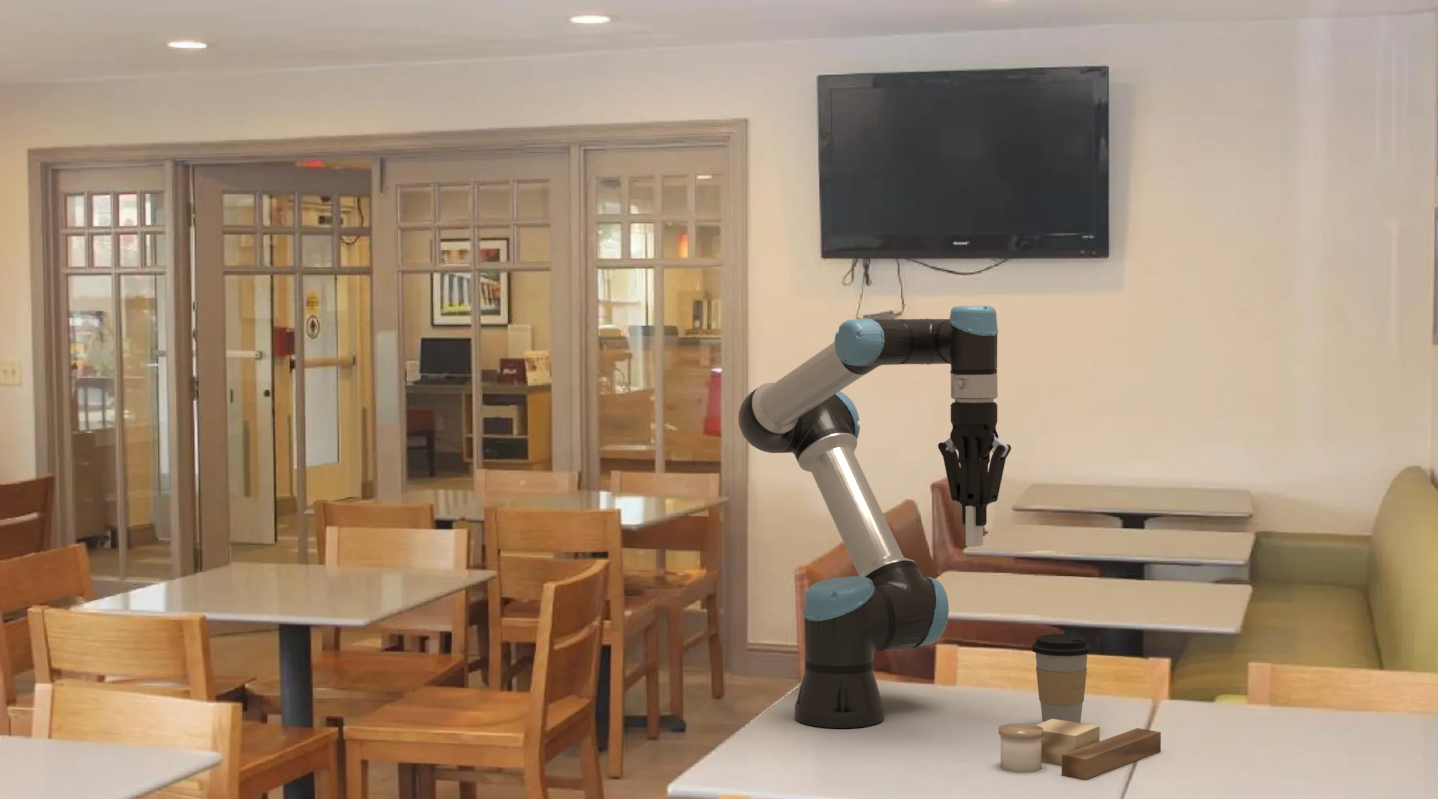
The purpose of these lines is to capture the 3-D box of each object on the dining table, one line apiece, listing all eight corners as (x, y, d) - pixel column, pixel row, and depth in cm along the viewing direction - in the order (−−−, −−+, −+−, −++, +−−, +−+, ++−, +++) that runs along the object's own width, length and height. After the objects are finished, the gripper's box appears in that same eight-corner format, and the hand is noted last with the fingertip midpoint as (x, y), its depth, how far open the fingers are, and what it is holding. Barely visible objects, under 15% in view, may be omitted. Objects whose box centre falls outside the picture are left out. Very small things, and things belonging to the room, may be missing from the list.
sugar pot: (989, 767, 242) (989, 729, 241) (1014, 759, 246) (1014, 721, 246) (1027, 775, 237) (1027, 736, 237) (1052, 766, 242) (1052, 728, 242)
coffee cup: (1091, 737, 259) (1091, 644, 258) (1031, 735, 261) (1031, 642, 260) (1089, 724, 268) (1089, 634, 268) (1031, 721, 270) (1031, 632, 270)
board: (1061, 775, 237) (1061, 754, 237) (1137, 747, 253) (1137, 728, 253) (1085, 780, 234) (1085, 759, 234) (1160, 751, 250) (1160, 732, 250)
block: (1027, 760, 246) (1027, 728, 246) (1051, 750, 252) (1051, 718, 252) (1075, 769, 241) (1075, 736, 241) (1099, 758, 247) (1099, 726, 247)
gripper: (927, 400, 264) (928, 544, 265) (994, 402, 255) (994, 551, 256) (954, 399, 269) (954, 540, 270) (1021, 400, 260) (1021, 546, 261)
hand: (974, 545), depth 263 cm, fingers closed
